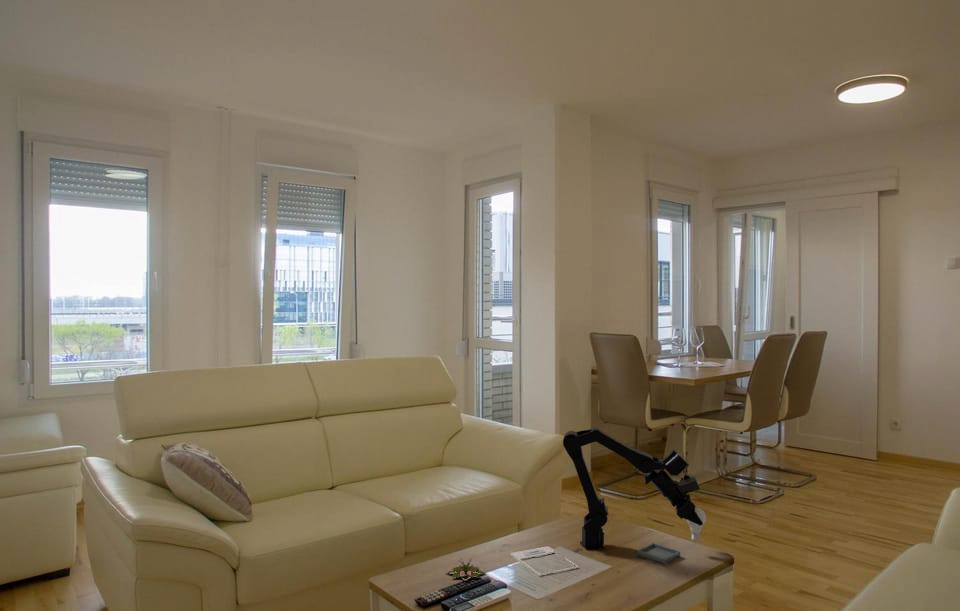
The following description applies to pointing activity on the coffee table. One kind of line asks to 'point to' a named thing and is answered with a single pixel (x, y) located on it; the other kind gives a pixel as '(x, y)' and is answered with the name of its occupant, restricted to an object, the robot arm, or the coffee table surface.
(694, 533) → the lightbulb
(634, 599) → the coffee table surface
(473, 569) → the flower arrangement
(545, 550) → the photo frame
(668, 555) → the dish
